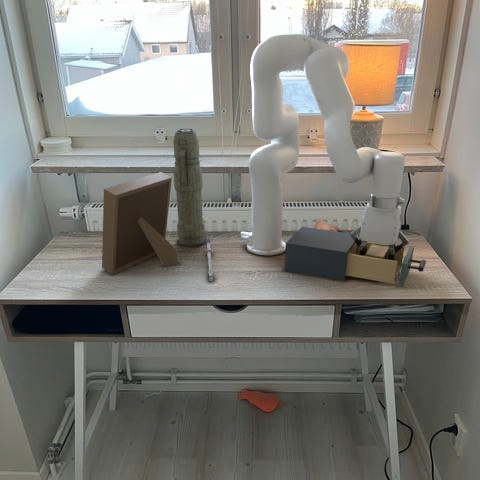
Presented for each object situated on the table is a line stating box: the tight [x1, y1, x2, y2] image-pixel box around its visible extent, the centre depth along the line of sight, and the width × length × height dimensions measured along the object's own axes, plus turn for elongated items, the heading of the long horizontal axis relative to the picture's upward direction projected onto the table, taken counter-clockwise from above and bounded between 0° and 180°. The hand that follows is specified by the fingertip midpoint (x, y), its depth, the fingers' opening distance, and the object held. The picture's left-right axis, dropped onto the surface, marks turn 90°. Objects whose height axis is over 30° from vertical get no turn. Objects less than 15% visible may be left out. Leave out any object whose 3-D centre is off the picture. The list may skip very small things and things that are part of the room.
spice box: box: [365, 245, 389, 260], centre depth 145 cm, size 5×8×6 cm, turn 156°
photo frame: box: [101, 171, 179, 275], centre depth 149 cm, size 15×22×25 cm
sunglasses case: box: [314, 218, 340, 232], centre depth 172 cm, size 18×7×7 cm
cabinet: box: [284, 226, 360, 282], centre depth 151 cm, size 18×15×9 cm
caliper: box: [206, 235, 214, 282], centre depth 152 cm, size 20×1×6 cm, turn 5°
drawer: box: [345, 240, 427, 288], centre depth 145 cm, size 21×13×7 cm, turn 66°
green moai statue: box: [172, 128, 206, 247], centre depth 163 cm, size 9×12×35 cm
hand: (375, 263), depth 146 cm, fingers open, 6 cm apart
